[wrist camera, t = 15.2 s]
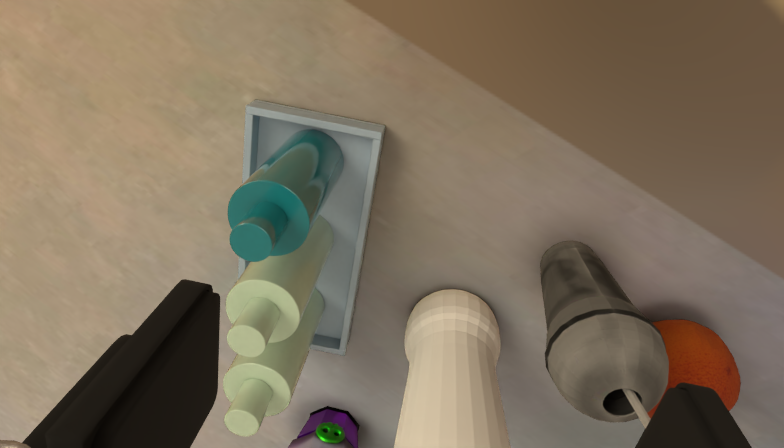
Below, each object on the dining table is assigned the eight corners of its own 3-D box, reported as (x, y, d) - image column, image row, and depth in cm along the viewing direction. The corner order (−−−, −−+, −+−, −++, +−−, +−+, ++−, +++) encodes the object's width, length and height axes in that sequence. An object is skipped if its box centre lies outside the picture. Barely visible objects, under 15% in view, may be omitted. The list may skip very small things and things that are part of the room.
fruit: (590, 325, 45) (616, 391, 38) (695, 288, 43) (745, 351, 36) (624, 395, 48) (655, 469, 41) (725, 364, 46) (776, 437, 38)
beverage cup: (504, 271, 44) (540, 476, 26) (565, 208, 41) (653, 391, 23) (570, 315, 45) (647, 541, 27) (633, 258, 42) (767, 469, 24)
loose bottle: (284, 123, 40) (206, 192, 27) (347, 135, 40) (299, 211, 27) (279, 183, 42) (205, 272, 29) (339, 195, 42) (291, 290, 29)
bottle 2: (272, 274, 46) (204, 388, 33) (327, 286, 46) (280, 404, 33) (268, 319, 48) (204, 442, 35) (321, 330, 48) (275, 457, 35)
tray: (255, 99, 40) (245, 105, 38) (385, 125, 39) (382, 132, 38) (243, 319, 49) (235, 333, 47) (348, 341, 49) (344, 356, 47)
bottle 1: (278, 203, 43) (206, 299, 30) (337, 215, 43) (289, 316, 30) (274, 255, 45) (205, 364, 32) (330, 267, 45) (283, 381, 32)
